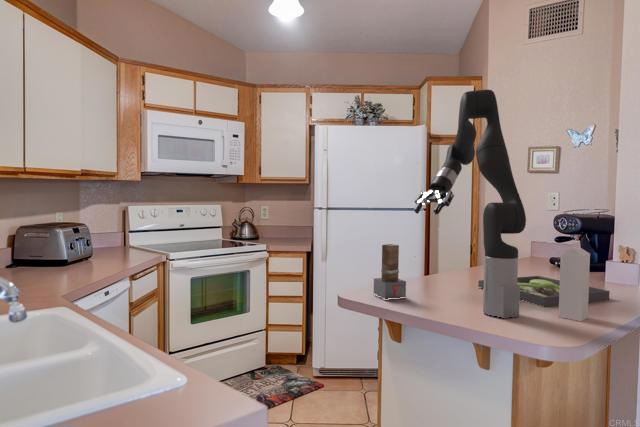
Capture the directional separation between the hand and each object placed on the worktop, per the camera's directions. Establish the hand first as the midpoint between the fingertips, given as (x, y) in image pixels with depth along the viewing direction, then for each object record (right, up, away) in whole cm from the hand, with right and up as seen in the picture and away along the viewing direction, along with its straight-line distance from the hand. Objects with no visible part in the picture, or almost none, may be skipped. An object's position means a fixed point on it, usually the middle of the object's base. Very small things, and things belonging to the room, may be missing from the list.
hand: (425, 212), depth 164 cm
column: (-15, -23, -11) cm, 29 cm away
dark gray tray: (+41, -29, -2) cm, 51 cm away
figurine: (+40, -30, -3) cm, 50 cm away
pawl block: (-15, -29, -10) cm, 34 cm away
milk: (+35, -31, -34) cm, 58 cm away
